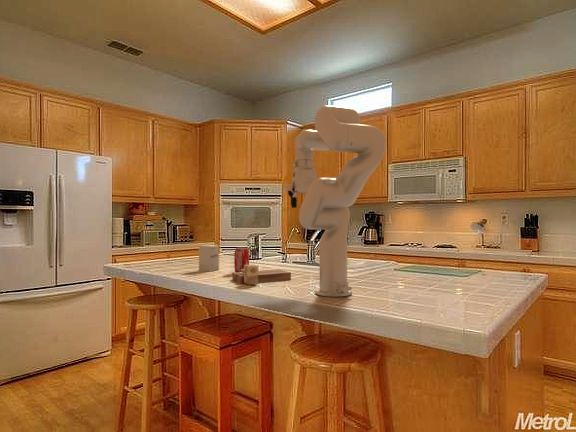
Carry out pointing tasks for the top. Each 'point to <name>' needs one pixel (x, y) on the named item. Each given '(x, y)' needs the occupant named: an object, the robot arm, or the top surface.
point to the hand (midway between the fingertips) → (304, 207)
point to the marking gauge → (250, 274)
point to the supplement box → (208, 258)
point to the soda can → (241, 259)
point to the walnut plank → (264, 276)
